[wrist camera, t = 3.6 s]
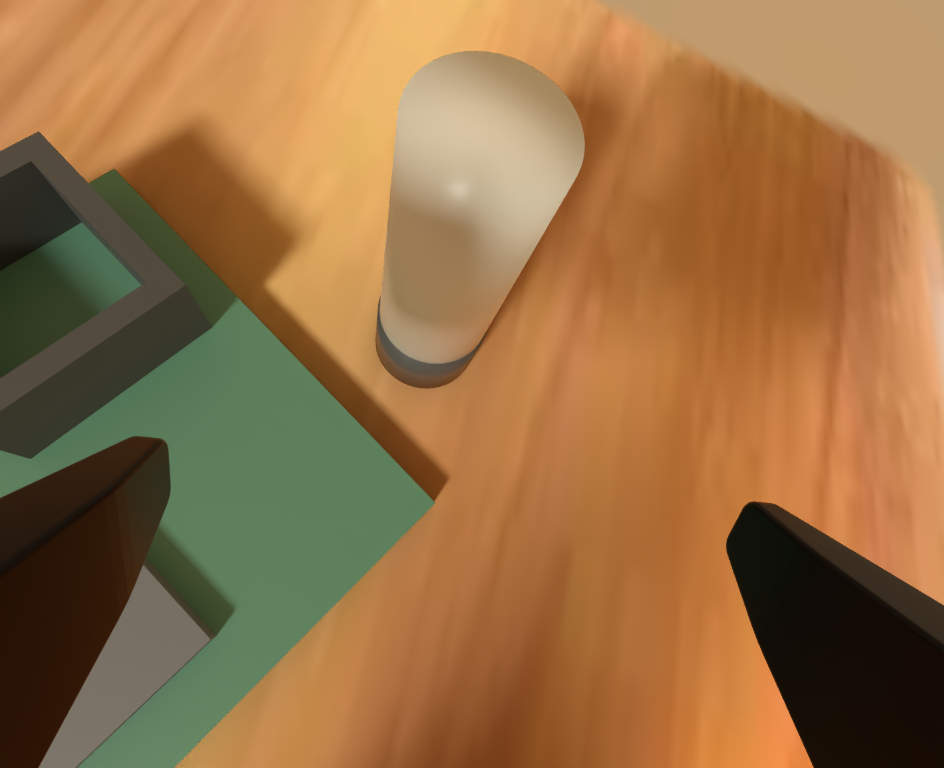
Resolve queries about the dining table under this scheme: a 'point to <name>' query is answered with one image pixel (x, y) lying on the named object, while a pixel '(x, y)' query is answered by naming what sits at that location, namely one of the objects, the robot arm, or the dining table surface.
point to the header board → (178, 455)
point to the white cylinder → (467, 204)
